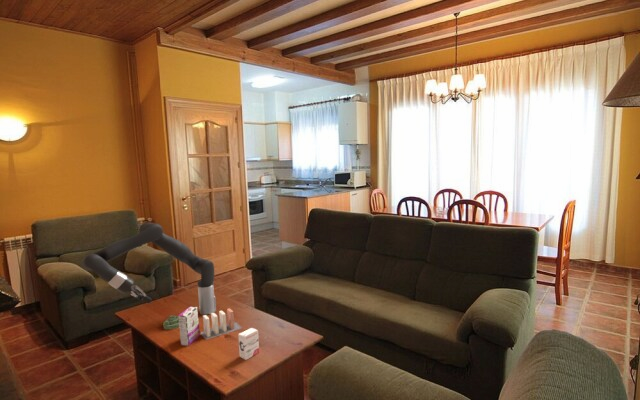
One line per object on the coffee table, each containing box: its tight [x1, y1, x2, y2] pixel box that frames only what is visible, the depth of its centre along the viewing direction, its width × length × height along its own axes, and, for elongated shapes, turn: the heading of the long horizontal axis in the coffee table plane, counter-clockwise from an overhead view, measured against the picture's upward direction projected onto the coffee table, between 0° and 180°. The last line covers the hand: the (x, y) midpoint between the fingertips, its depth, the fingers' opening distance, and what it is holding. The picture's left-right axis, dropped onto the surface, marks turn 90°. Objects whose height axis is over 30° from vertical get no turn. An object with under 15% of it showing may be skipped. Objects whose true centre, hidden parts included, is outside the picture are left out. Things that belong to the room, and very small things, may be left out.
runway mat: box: [200, 321, 243, 341], centre depth 201 cm, size 20×10×1 cm, turn 125°
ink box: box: [237, 327, 260, 361], centre depth 176 cm, size 8×5×12 cm, turn 140°
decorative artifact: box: [163, 314, 179, 331], centre depth 208 cm, size 10×7×10 cm
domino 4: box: [226, 307, 235, 329], centre depth 204 cm, size 2×6×10 cm, turn 35°
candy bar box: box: [177, 306, 201, 346], centre depth 190 cm, size 11×5×16 cm, turn 168°
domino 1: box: [202, 314, 211, 337], centre depth 196 cm, size 2×6×10 cm, turn 35°
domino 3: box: [218, 310, 227, 332], centre depth 201 cm, size 2×6×10 cm, turn 35°
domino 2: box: [210, 312, 219, 334], centre depth 198 cm, size 2×6×10 cm, turn 35°
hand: (150, 301), depth 185 cm, fingers closed
